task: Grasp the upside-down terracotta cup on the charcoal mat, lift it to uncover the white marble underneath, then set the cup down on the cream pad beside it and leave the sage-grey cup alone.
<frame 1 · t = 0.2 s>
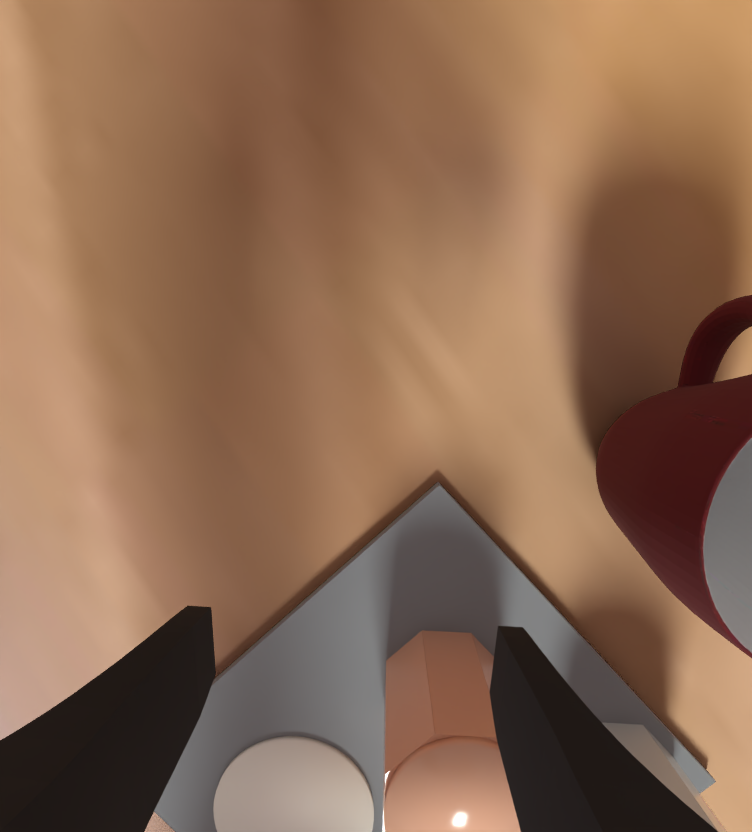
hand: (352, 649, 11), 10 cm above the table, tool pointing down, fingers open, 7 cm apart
mat: (408, 766, 23), on the table
pad: (294, 808, 23), resting on mat
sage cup: (612, 775, 22), point 1 cm above the table, touching mat
mug: (640, 429, 21), on the table
terracotta cup: (443, 686, 22), point 1 cm above the table, touching mat
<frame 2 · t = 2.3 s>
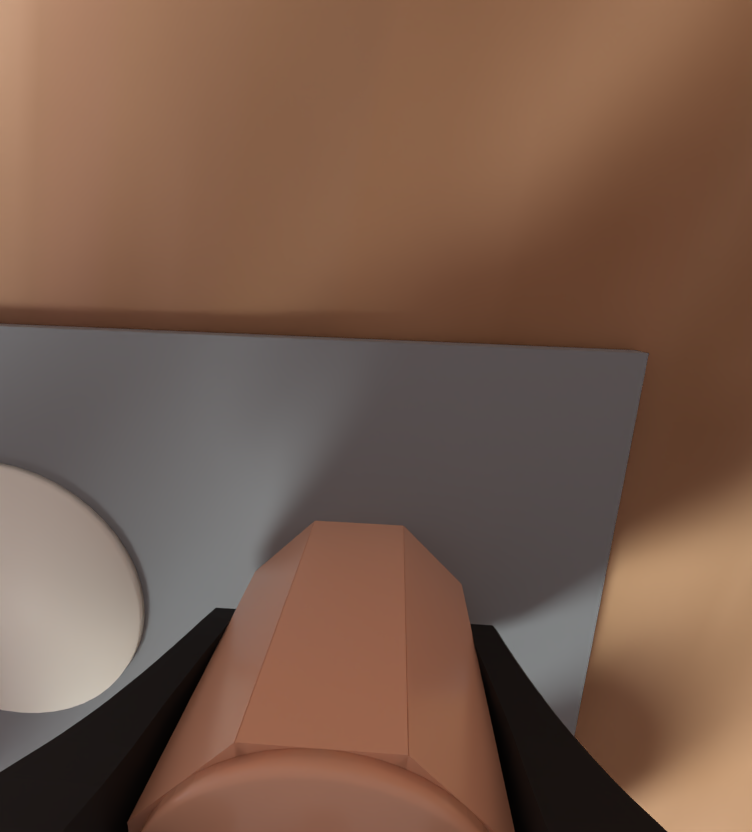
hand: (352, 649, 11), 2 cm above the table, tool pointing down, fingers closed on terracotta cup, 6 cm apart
mat: (210, 660, 14), on the table
pad: (6, 592, 13), resting on mat
terracotta cup: (356, 614, 13), point 1 cm above the table, touching gripper, mat
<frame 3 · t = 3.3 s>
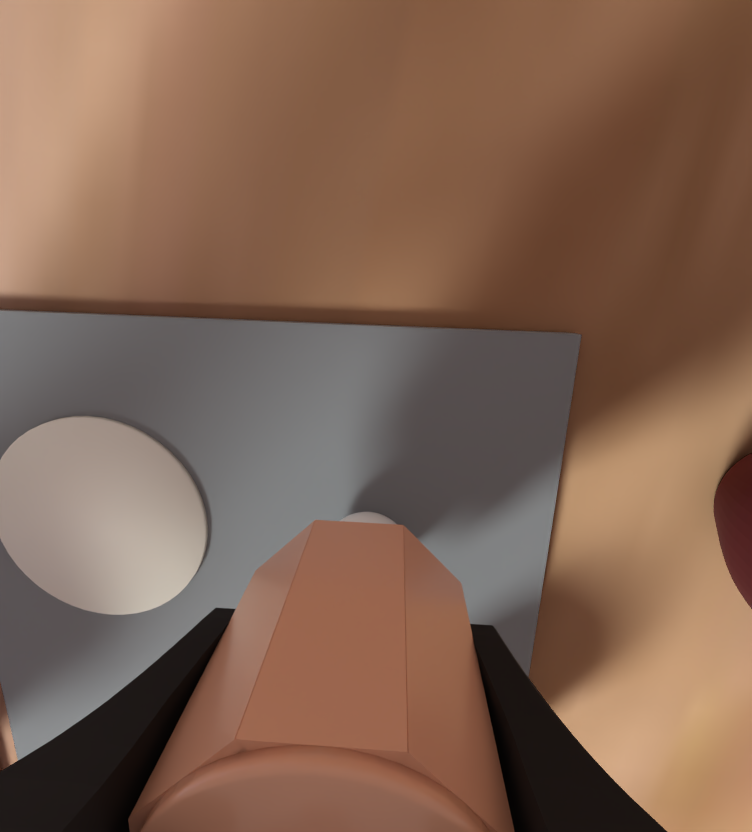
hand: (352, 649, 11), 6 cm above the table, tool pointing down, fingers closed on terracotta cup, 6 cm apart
marble: (366, 557, 15), point 2 cm above the table, touching mat
mat: (254, 576, 18), on the table
pad: (102, 518, 17), resting on mat
terracotta cup: (356, 613, 13), point 5 cm above the table, touching gripper
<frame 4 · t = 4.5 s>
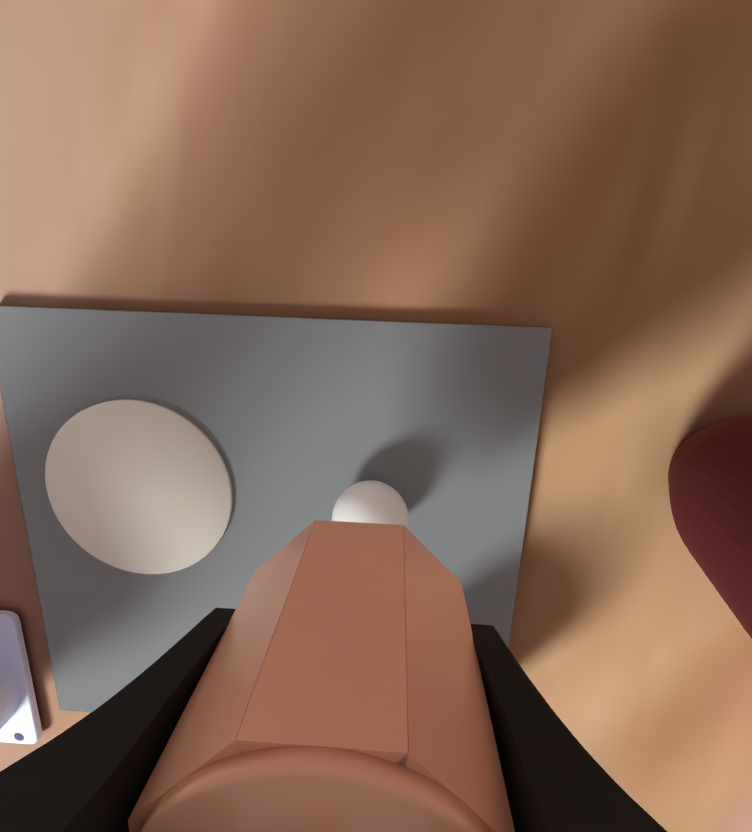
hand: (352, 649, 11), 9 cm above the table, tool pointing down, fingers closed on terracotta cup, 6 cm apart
marble: (370, 518, 18), point 2 cm above the table, touching mat
mat: (272, 540, 21), on the table
pad: (141, 489, 20), resting on mat
mug: (739, 446, 19), on the table
terracotta cup: (356, 613, 13), point 8 cm above the table, touching gripper
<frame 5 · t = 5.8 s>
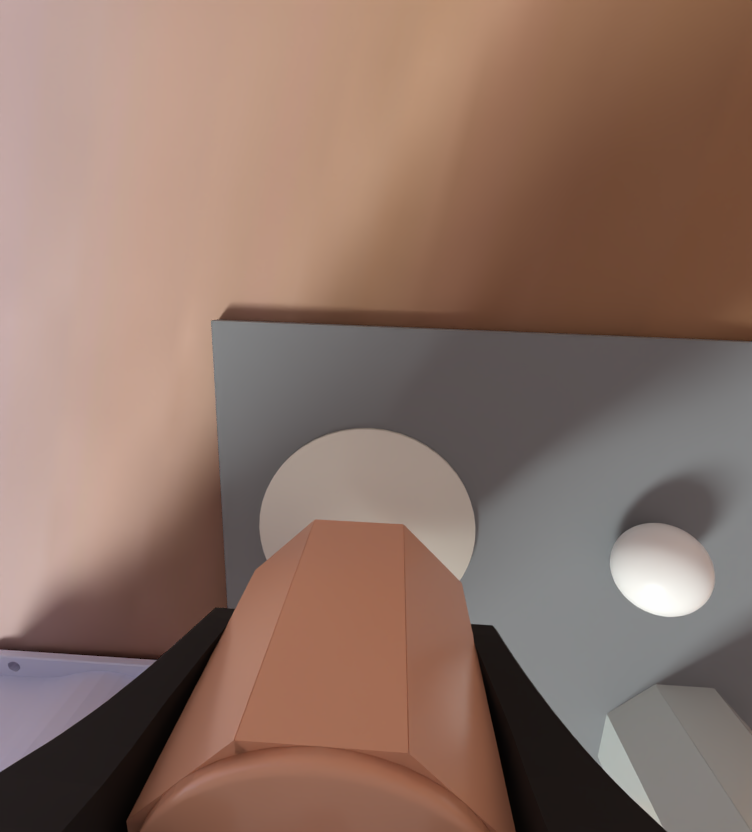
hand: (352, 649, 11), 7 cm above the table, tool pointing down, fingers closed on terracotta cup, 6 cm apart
marble: (659, 568, 15), point 2 cm above the table, touching mat
mat: (503, 585, 18), on the table
pad: (366, 529, 17), resting on mat
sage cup: (670, 740, 19), point 1 cm above the table, touching mat
terracotta cup: (356, 613, 13), point 5 cm above the table, touching gripper
when the fingers open (3 cm above the table, at t = 6.9 s): terracotta cup drops 1 cm, resting on pad.
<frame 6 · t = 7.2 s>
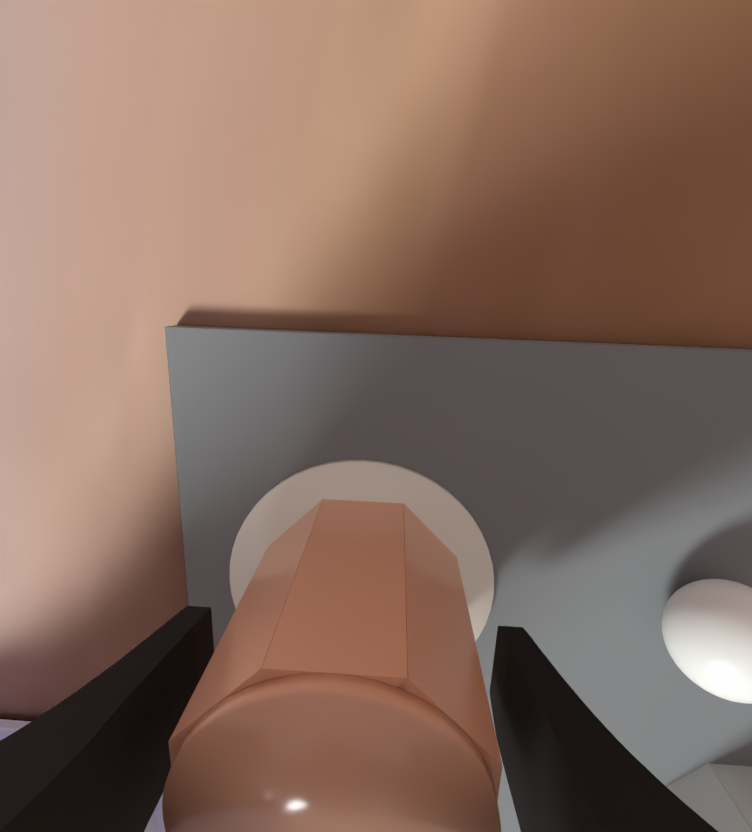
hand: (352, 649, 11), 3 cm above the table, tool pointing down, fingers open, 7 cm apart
marble: (727, 637, 12), point 2 cm above the table, touching mat
mat: (525, 645, 15), on the table
pad: (360, 581, 14), resting on mat
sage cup: (723, 826, 16), point 1 cm above the table, touching mat
terracotta cup: (360, 586, 14), point 1 cm above the table, touching pad
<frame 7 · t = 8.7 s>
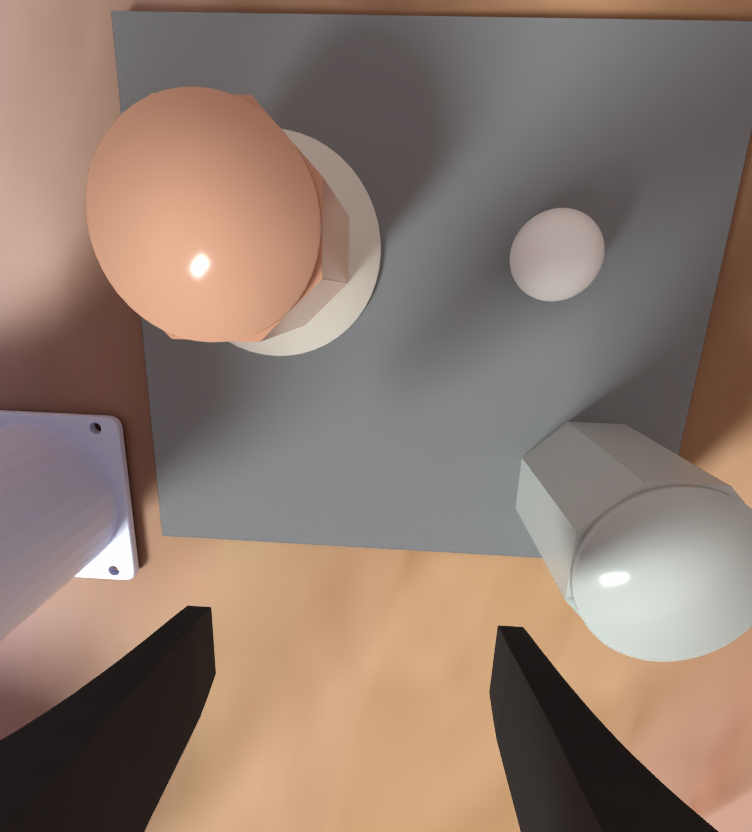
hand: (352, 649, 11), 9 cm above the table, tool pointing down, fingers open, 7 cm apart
marble: (555, 256, 16), point 2 cm above the table, touching mat
mat: (416, 321, 18), on the table
pad: (275, 249, 17), resting on mat
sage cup: (585, 486, 19), point 1 cm above the table, touching mat
terracotta cup: (274, 247, 17), point 1 cm above the table, touching pad
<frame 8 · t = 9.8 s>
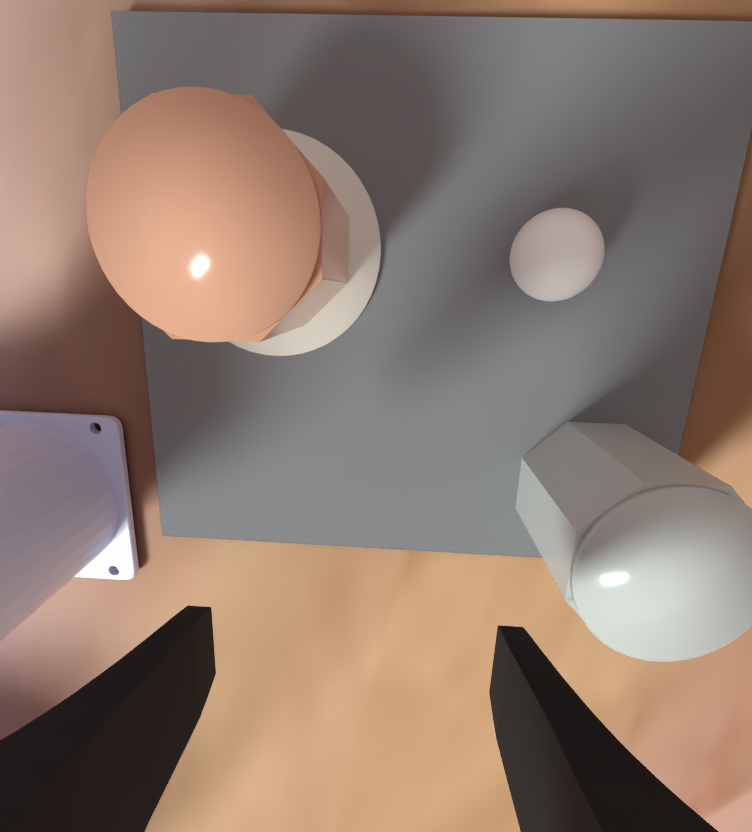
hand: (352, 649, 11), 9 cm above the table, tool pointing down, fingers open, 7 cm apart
marble: (555, 256, 16), point 2 cm above the table, touching mat
mat: (416, 321, 18), on the table
pad: (275, 249, 17), resting on mat
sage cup: (585, 486, 19), point 1 cm above the table, touching mat
terracotta cup: (273, 247, 17), point 1 cm above the table, touching pad
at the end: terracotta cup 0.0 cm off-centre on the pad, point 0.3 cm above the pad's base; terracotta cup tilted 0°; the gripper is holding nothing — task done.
